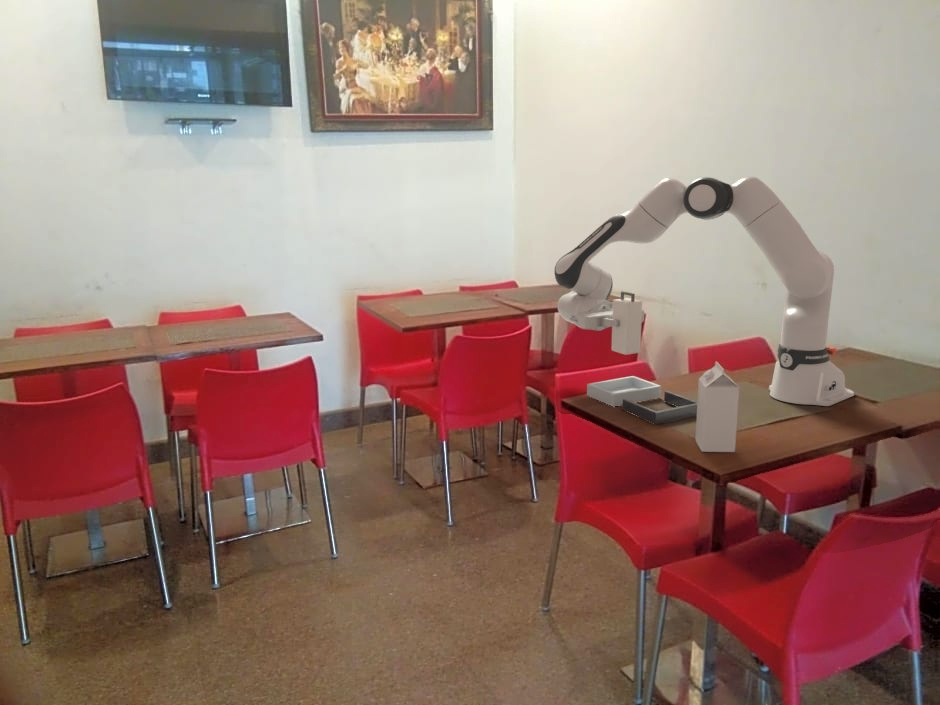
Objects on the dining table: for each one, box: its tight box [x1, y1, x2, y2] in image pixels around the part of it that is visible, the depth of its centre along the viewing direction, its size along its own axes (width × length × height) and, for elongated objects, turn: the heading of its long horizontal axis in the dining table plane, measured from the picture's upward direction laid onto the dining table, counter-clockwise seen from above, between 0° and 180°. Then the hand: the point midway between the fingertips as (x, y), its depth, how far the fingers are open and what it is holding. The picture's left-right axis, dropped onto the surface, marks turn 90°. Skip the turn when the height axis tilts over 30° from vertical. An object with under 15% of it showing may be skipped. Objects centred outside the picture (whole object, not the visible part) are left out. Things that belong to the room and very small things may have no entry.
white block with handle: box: [611, 290, 643, 356], centre depth 193 cm, size 5×6×16 cm
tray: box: [586, 375, 662, 408], centre depth 198 cm, size 16×12×4 cm
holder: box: [621, 390, 698, 425], centre depth 185 cm, size 15×13×3 cm
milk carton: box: [695, 360, 740, 453], centre depth 159 cm, size 7×7×19 cm
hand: (627, 322), depth 193 cm, fingers closed on white block with handle, 5 cm apart
